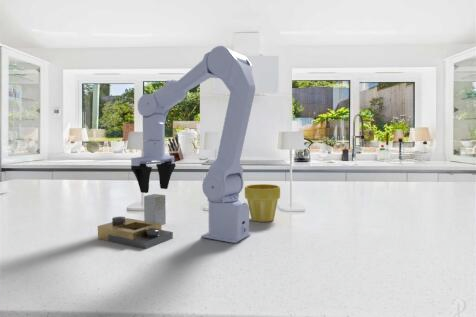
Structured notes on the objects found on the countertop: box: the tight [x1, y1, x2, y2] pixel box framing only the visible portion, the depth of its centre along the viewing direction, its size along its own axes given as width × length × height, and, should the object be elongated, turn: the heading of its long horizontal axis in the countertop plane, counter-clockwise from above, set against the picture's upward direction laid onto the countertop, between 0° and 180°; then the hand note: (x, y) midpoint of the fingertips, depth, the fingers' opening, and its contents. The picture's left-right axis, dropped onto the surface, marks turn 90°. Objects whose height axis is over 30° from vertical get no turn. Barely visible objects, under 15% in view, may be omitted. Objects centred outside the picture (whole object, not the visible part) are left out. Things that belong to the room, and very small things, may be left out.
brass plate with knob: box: [97, 216, 174, 250], centre depth 80 cm, size 15×9×4 cm, turn 61°
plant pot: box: [244, 183, 281, 223], centre depth 99 cm, size 10×10×10 cm
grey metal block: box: [143, 193, 167, 226], centre depth 92 cm, size 4×4×8 cm
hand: (154, 190), depth 92 cm, fingers open, 7 cm apart
